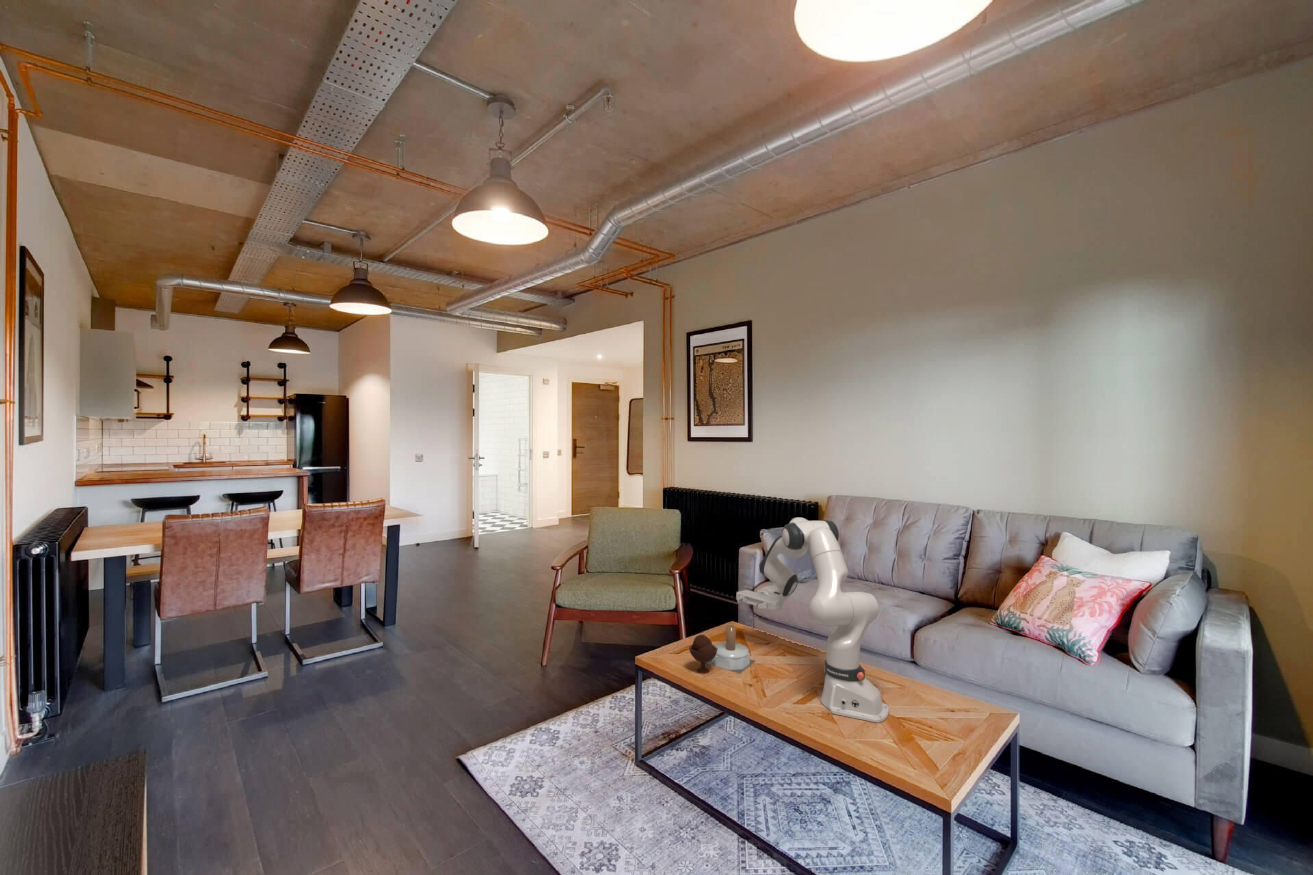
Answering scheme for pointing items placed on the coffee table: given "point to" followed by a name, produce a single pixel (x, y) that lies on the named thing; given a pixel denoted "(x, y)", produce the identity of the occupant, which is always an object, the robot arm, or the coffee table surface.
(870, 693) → the robot arm
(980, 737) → the coffee table surface
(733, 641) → the hexagonal peg stand
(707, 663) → the mat
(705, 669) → the ice cream bowl
